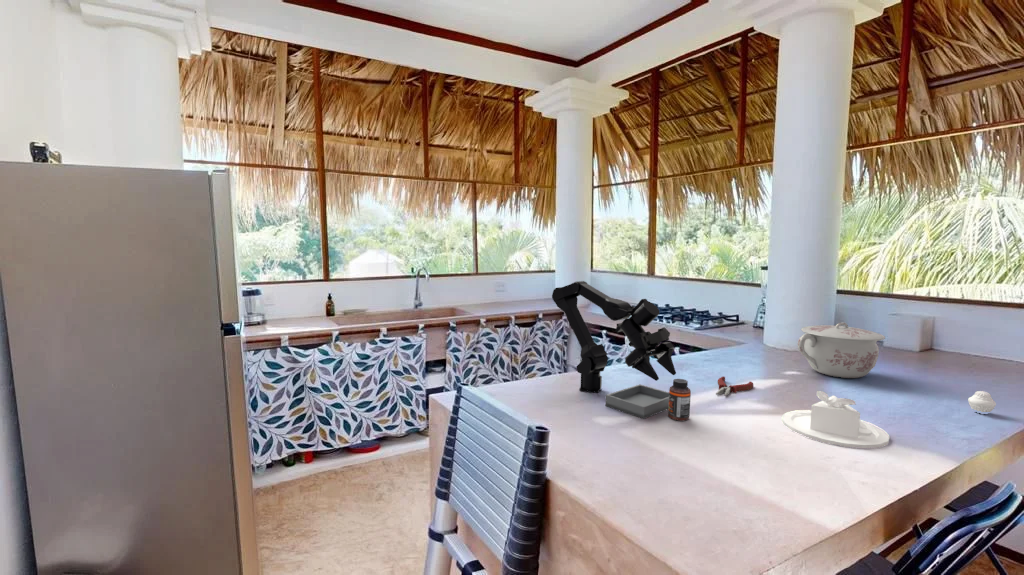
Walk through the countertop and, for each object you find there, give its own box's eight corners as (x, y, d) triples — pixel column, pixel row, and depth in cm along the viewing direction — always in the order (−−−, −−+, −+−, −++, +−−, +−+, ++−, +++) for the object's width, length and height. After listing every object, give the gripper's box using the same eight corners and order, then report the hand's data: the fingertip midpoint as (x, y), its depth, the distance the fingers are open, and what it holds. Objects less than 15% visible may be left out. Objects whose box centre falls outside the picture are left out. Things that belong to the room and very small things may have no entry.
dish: (896, 458, 116) (900, 413, 115) (779, 435, 130) (781, 394, 128) (883, 425, 137) (886, 387, 136) (783, 408, 150) (785, 373, 149)
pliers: (702, 394, 164) (703, 387, 163) (721, 381, 179) (721, 375, 179) (738, 402, 156) (738, 394, 156) (754, 388, 172) (754, 381, 171)
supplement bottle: (664, 414, 143) (666, 377, 142) (683, 413, 144) (685, 377, 143) (673, 421, 137) (674, 383, 136) (693, 421, 138) (694, 383, 137)
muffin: (967, 408, 152) (969, 386, 151) (994, 413, 147) (997, 391, 147) (966, 412, 147) (969, 390, 147) (994, 418, 143) (997, 395, 142)
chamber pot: (877, 371, 194) (882, 321, 192) (885, 388, 171) (891, 331, 169) (797, 361, 209) (800, 314, 207) (795, 376, 186) (798, 323, 184)
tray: (605, 405, 150) (605, 394, 150) (639, 394, 161) (639, 384, 161) (643, 418, 139) (643, 407, 139) (676, 405, 151) (677, 394, 150)
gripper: (634, 322, 139) (666, 367, 132) (669, 316, 151) (701, 357, 144) (612, 344, 146) (641, 388, 139) (647, 337, 158) (676, 377, 151)
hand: (666, 377), depth 143 cm, fingers open, 9 cm apart
